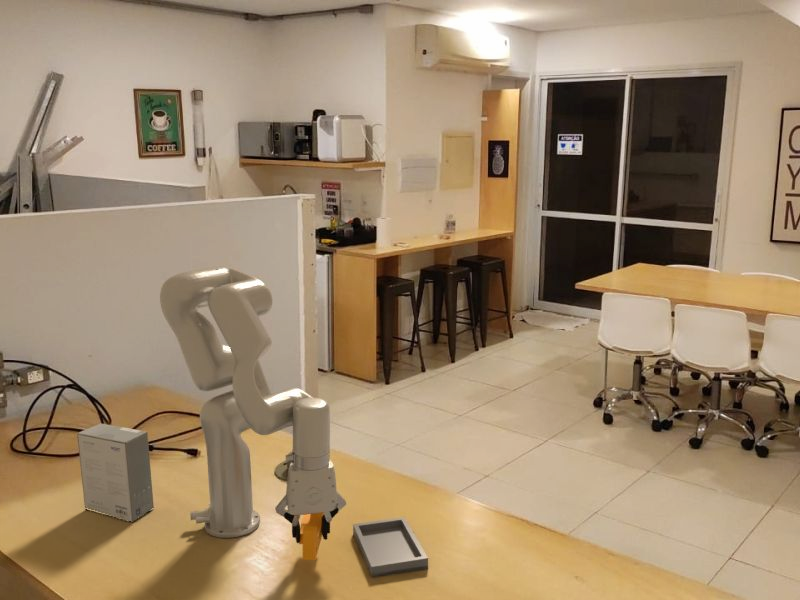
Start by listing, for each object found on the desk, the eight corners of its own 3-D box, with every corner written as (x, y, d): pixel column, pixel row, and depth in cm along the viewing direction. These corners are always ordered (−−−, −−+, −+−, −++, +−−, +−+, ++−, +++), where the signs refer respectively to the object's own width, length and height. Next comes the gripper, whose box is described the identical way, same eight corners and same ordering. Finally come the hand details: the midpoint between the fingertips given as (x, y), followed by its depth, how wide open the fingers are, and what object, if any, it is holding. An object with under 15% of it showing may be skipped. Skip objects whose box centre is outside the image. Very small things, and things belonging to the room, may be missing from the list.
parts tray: (371, 578, 152) (371, 566, 152) (353, 534, 169) (353, 524, 169) (428, 568, 156) (428, 558, 155) (404, 527, 173) (404, 517, 172)
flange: (297, 440, 212) (262, 459, 199) (341, 451, 205) (307, 471, 192) (298, 456, 213) (263, 476, 200) (341, 467, 205) (308, 488, 193)
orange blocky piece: (304, 527, 164) (304, 501, 162) (324, 528, 164) (324, 502, 162) (294, 559, 152) (293, 530, 151) (315, 560, 152) (315, 531, 151)
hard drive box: (155, 509, 182) (149, 431, 177) (132, 523, 175) (125, 443, 171) (107, 497, 188) (100, 422, 184) (83, 510, 181) (75, 432, 177)
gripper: (271, 470, 148) (272, 552, 152) (355, 462, 152) (354, 542, 157) (267, 454, 155) (268, 533, 159) (348, 447, 159) (347, 524, 164)
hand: (311, 537), depth 158 cm, fingers closed on orange blocky piece, 5 cm apart
